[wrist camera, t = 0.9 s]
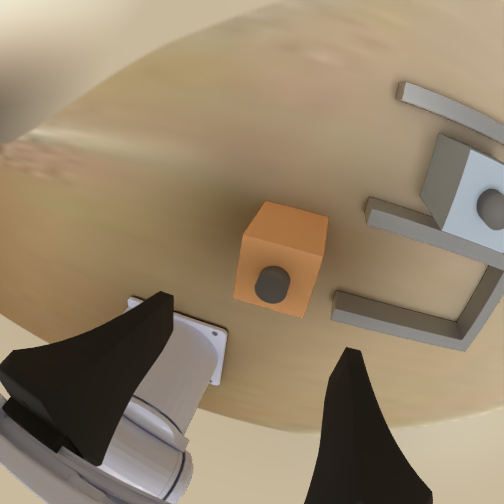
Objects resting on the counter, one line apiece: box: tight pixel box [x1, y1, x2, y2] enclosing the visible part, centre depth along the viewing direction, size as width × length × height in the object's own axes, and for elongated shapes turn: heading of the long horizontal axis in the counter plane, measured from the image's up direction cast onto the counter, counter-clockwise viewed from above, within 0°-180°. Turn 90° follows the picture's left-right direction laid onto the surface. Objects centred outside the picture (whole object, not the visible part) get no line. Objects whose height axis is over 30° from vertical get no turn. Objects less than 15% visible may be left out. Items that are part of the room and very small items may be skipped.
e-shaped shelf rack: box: [331, 82, 504, 352], centre depth 16 cm, size 11×15×2 cm
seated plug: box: [420, 133, 504, 253], centre depth 13 cm, size 4×4×6 cm
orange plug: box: [233, 201, 329, 318], centre depth 18 cm, size 4×4×6 cm
